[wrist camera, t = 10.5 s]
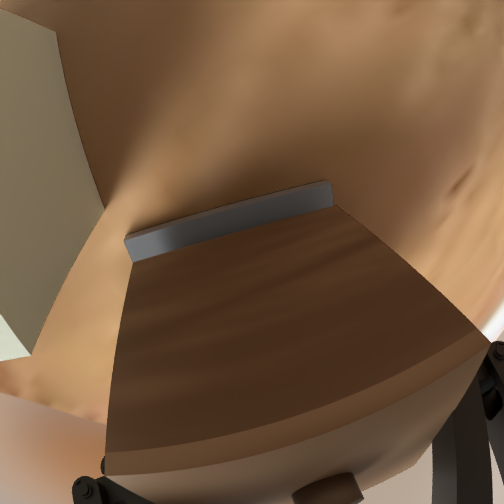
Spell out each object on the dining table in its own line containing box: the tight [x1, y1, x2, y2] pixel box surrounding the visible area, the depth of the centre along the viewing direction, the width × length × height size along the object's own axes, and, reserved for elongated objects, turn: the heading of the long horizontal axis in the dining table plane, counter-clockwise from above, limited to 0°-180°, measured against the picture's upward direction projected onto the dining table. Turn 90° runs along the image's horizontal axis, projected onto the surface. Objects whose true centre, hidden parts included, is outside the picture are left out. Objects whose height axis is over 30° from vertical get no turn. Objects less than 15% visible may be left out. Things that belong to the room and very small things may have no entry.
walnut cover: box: [104, 205, 491, 504], centre depth 10 cm, size 9×9×10 cm
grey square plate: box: [124, 180, 334, 262], centre depth 16 cm, size 10×10×1 cm
